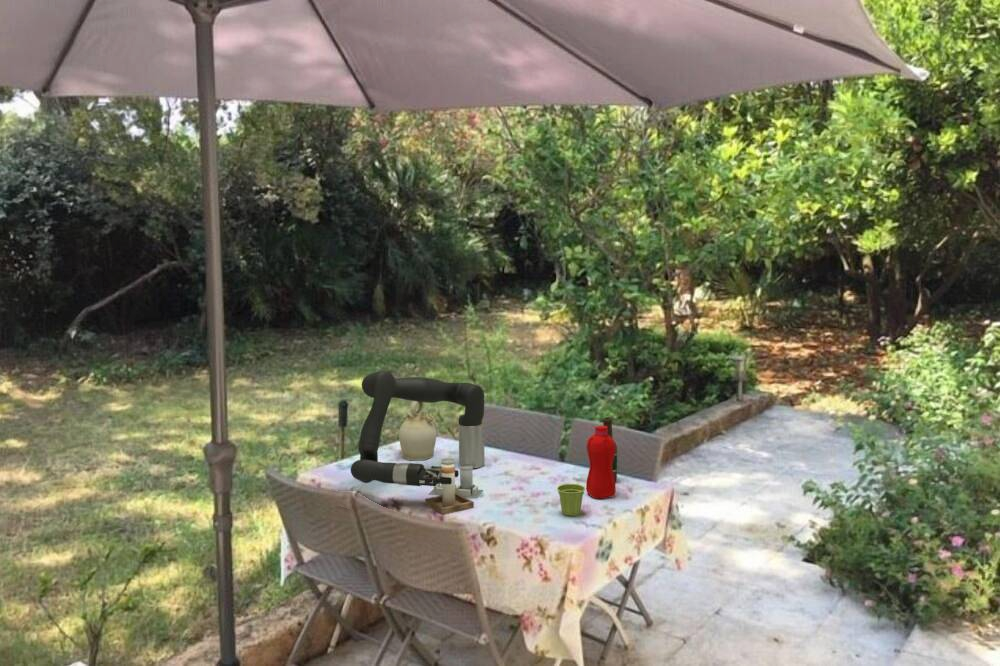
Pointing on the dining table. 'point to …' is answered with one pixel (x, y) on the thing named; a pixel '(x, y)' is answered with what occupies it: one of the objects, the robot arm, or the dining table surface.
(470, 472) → the fuse
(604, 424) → the beer bottle
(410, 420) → the jug
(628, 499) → the dining table surface
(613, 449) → the water bottle
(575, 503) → the plant pot
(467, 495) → the clip block
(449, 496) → the cylinder
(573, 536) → the dining table surface
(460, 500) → the tray
